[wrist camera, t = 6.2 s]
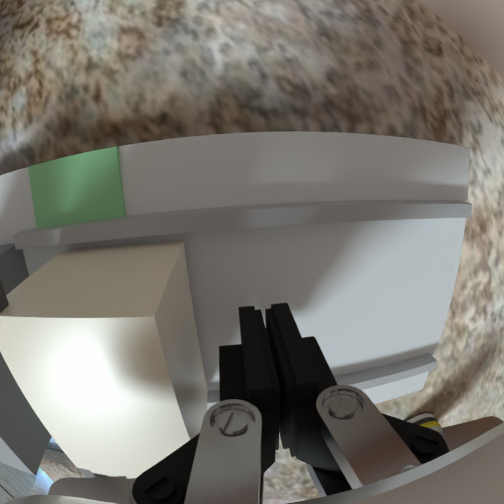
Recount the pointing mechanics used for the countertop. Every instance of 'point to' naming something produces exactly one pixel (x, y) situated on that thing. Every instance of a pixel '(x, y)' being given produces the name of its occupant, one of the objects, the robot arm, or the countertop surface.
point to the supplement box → (14, 483)
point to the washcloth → (59, 465)
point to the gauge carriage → (109, 354)
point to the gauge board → (261, 244)
